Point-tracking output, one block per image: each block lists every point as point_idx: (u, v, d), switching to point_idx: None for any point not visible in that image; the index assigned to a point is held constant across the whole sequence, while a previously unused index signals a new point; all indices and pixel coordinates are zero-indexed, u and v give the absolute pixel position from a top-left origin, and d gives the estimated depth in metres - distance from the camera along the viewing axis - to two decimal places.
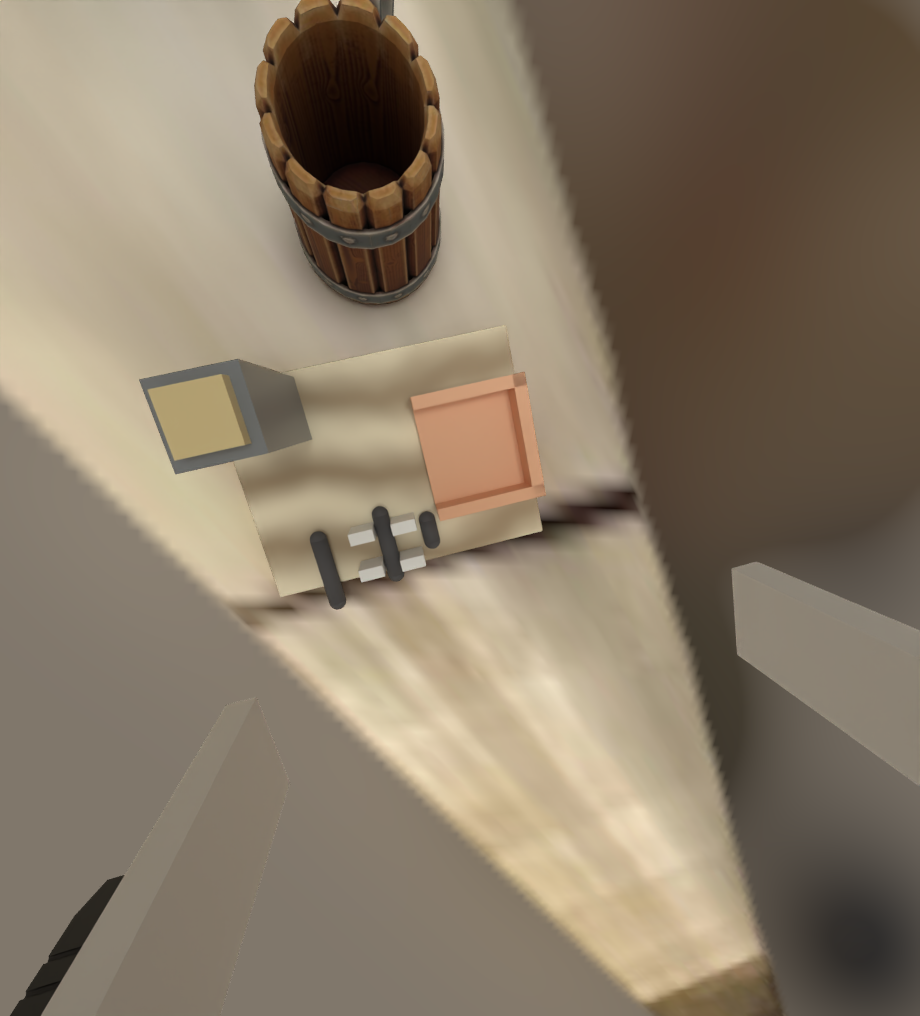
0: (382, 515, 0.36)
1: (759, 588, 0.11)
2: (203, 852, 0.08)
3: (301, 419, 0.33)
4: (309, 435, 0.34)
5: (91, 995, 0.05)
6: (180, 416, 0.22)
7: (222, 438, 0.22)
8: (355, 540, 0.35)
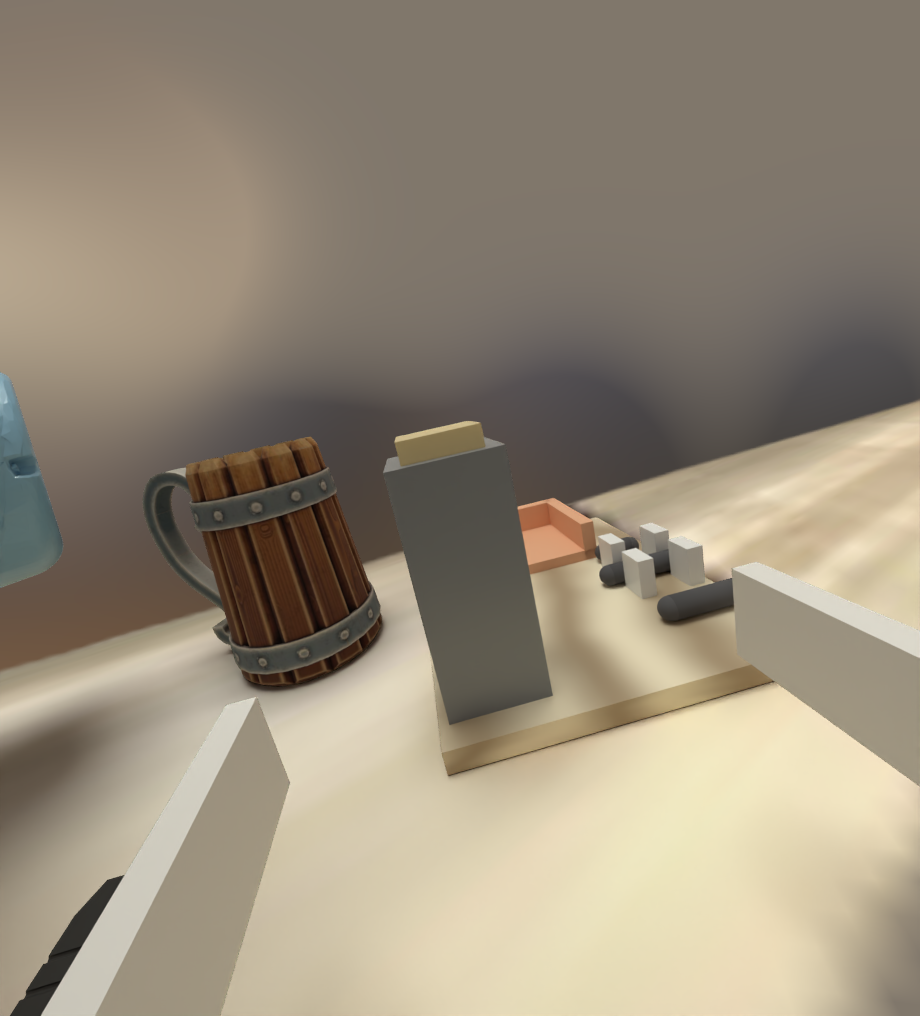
0: (607, 565, 0.29)
1: (760, 587, 0.11)
2: (203, 852, 0.08)
3: None
4: None
5: (90, 995, 0.05)
6: (430, 432, 0.19)
7: (459, 423, 0.20)
8: (642, 557, 0.27)
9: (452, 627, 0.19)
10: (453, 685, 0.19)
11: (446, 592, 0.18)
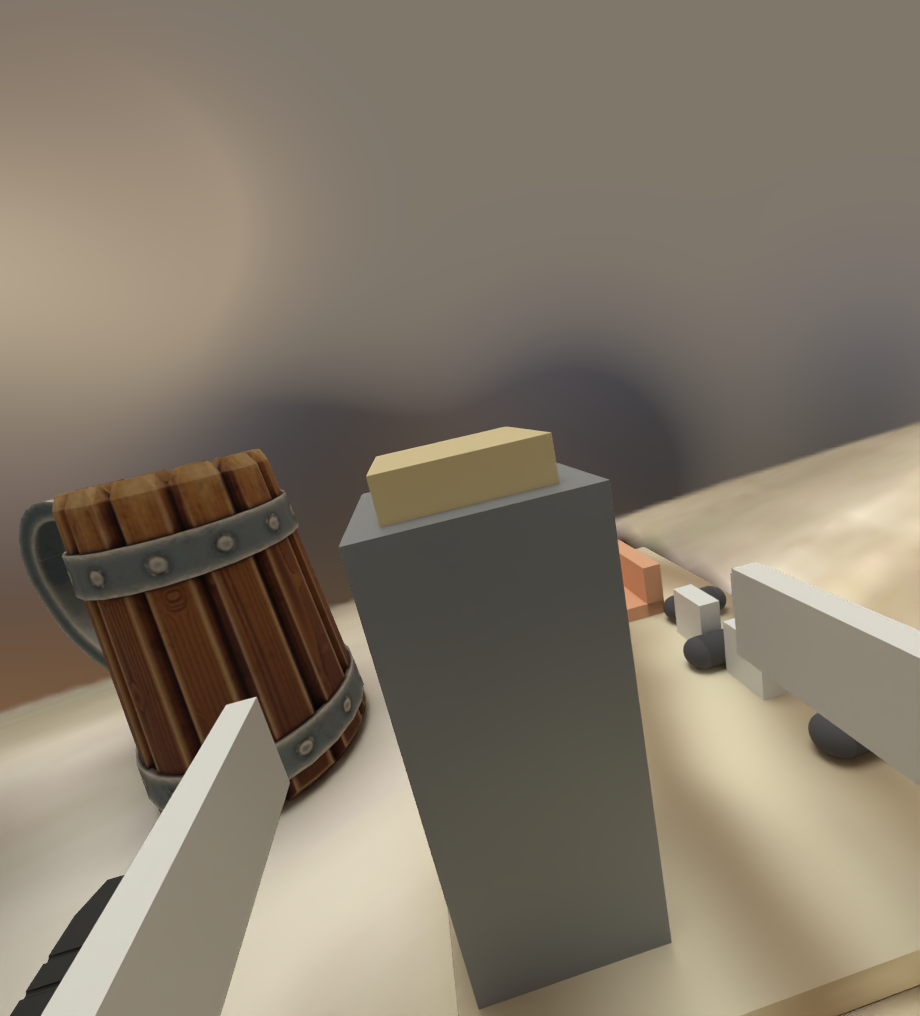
0: (696, 637, 0.20)
1: (759, 587, 0.11)
2: (203, 852, 0.08)
3: None
4: None
5: (90, 995, 0.05)
6: (442, 452, 0.09)
7: (494, 432, 0.11)
8: None
9: (487, 844, 0.09)
10: (488, 944, 0.10)
11: (475, 781, 0.09)
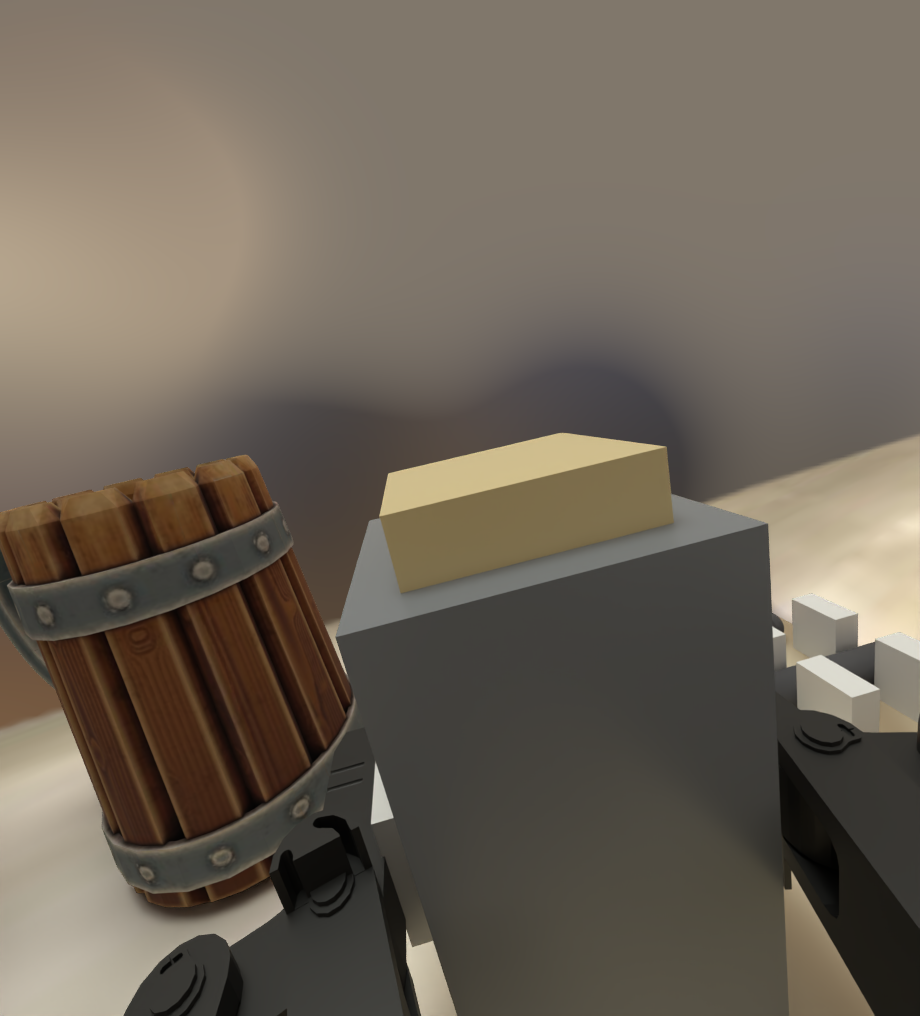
0: None
1: None
2: None
3: None
4: None
5: None
6: (490, 473, 0.06)
7: (551, 441, 0.08)
8: (853, 684, 0.14)
9: None
10: None
11: (540, 963, 0.06)
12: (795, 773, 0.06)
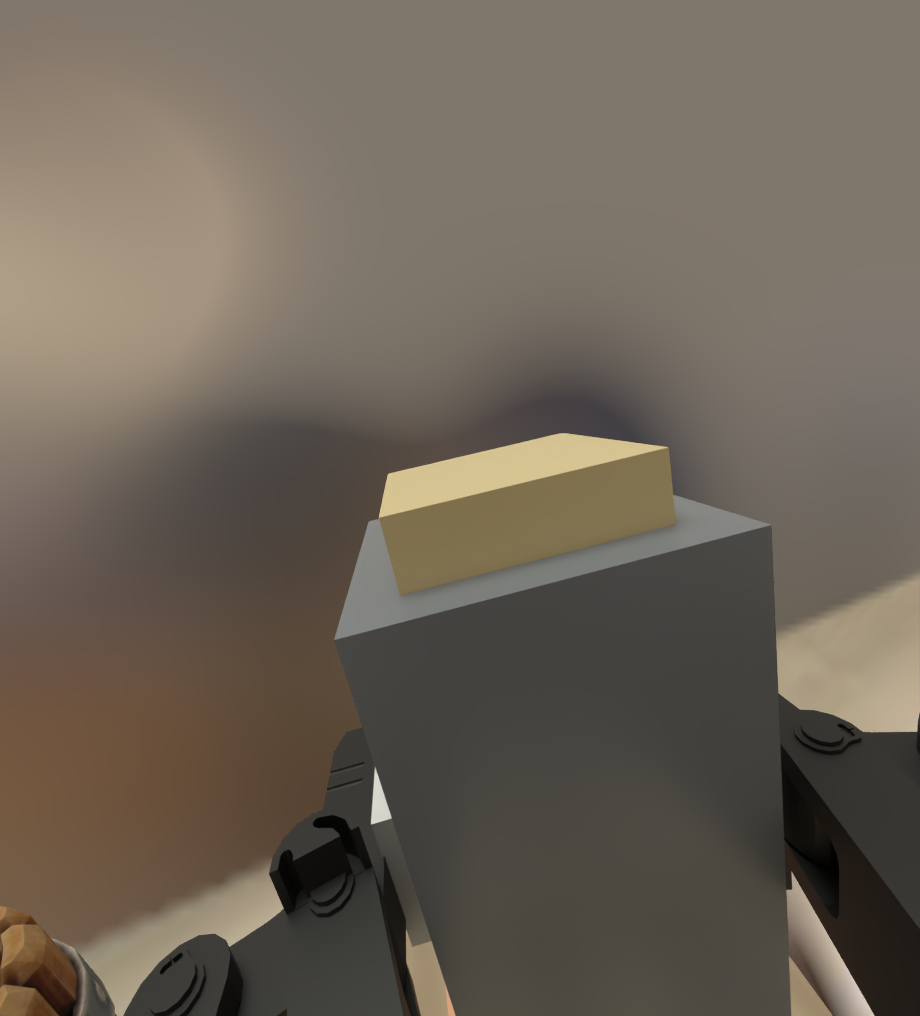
0: None
1: None
2: None
3: None
4: None
5: None
6: (490, 473, 0.06)
7: (552, 442, 0.08)
8: None
9: None
10: None
11: (541, 968, 0.06)
12: (795, 773, 0.06)
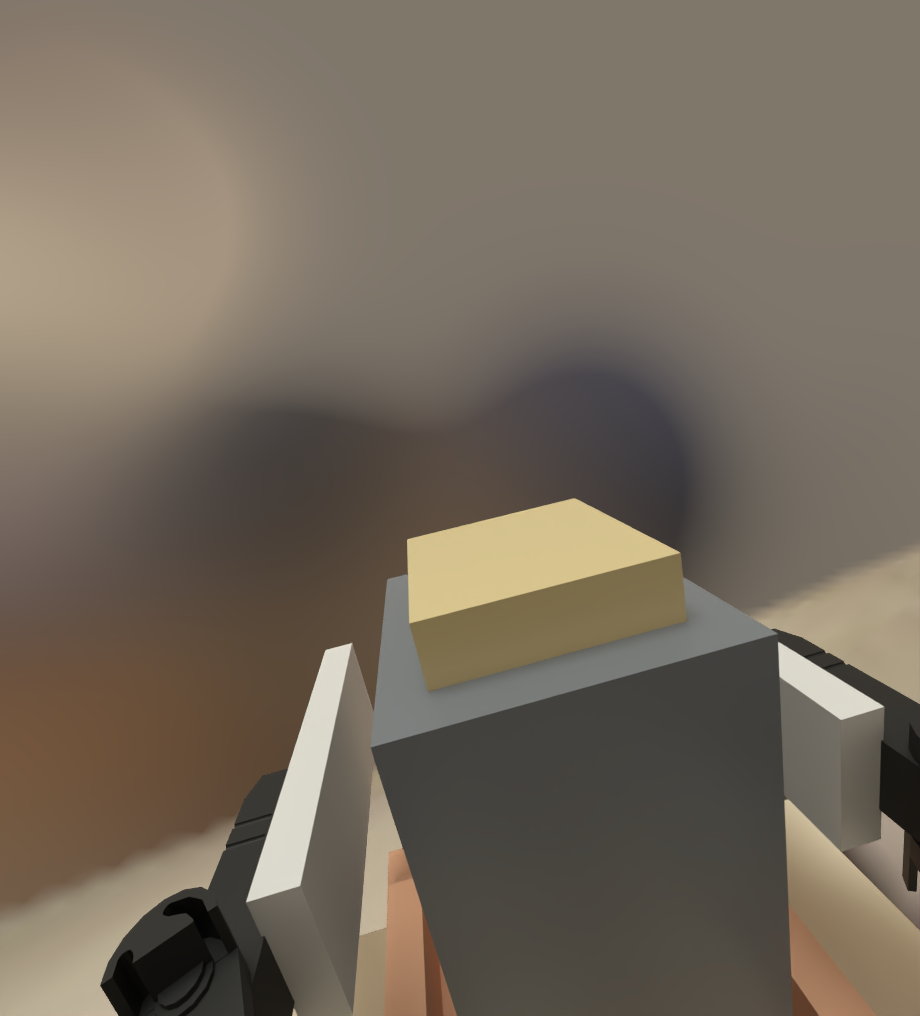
0: None
1: None
2: (341, 753, 0.09)
3: None
4: None
5: (300, 831, 0.07)
6: (510, 563, 0.06)
7: (566, 515, 0.08)
8: None
9: None
10: None
11: None
12: None
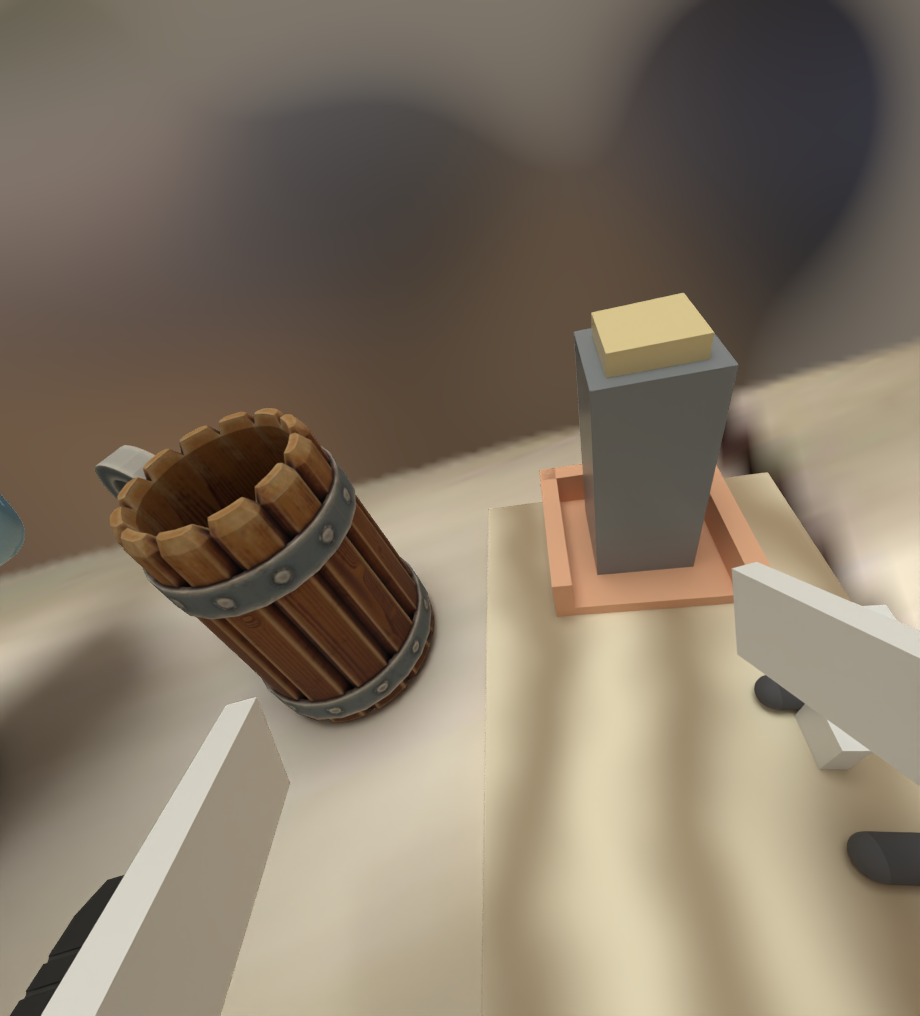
0: None
1: (759, 588, 0.11)
2: (203, 852, 0.08)
3: None
4: None
5: (91, 995, 0.05)
6: (644, 331, 0.16)
7: (675, 305, 0.17)
8: None
9: (620, 516, 0.21)
10: (608, 553, 0.23)
11: (623, 491, 0.20)
12: None
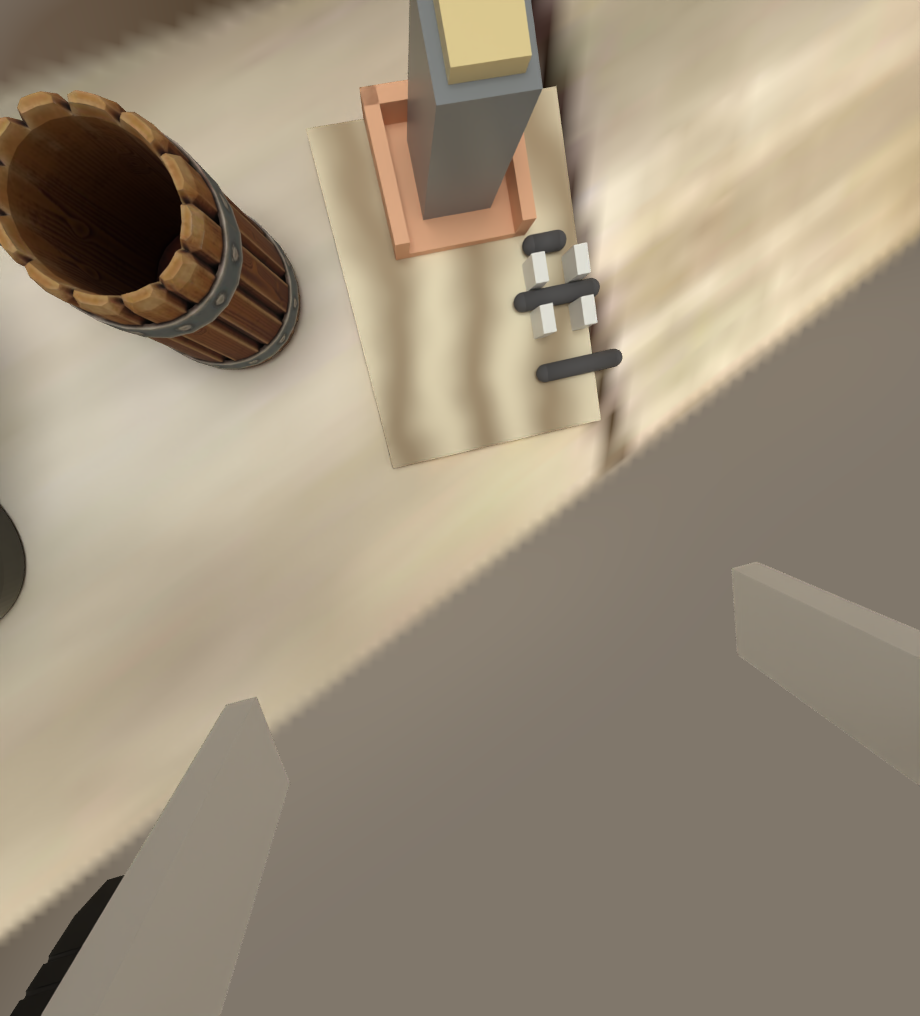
0: (524, 297, 0.33)
1: (759, 587, 0.11)
2: (203, 852, 0.08)
3: None
4: None
5: (91, 995, 0.05)
6: (481, 32, 0.18)
7: None
8: (550, 325, 0.32)
9: (445, 183, 0.26)
10: (433, 206, 0.29)
11: (450, 168, 0.25)
12: None
